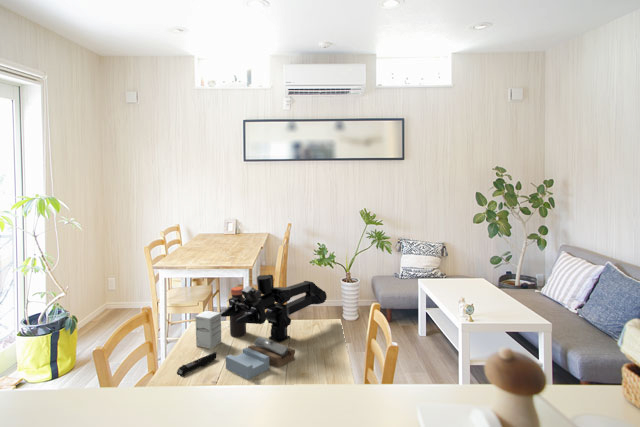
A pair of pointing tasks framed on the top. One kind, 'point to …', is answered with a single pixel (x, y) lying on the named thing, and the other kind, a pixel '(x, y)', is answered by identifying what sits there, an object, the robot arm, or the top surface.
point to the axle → (271, 347)
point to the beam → (275, 356)
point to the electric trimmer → (196, 364)
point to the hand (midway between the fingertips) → (228, 318)
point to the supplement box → (208, 329)
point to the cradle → (247, 363)
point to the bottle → (235, 327)
